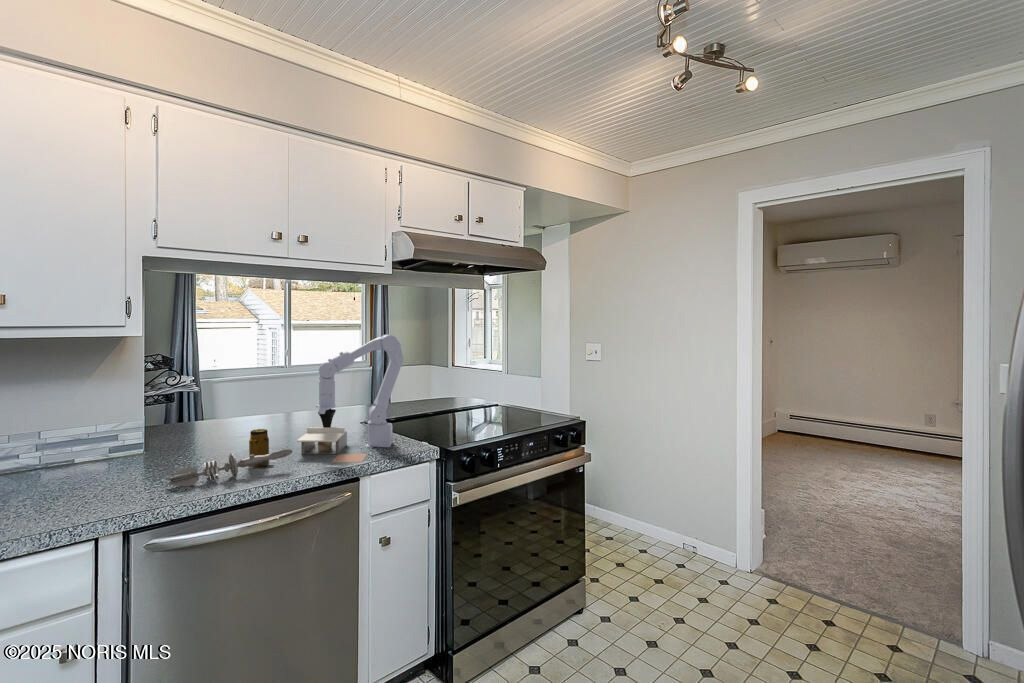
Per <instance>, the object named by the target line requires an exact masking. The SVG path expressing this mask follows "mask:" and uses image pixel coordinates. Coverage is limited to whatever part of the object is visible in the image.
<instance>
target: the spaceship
mask: <svg viewBox="0 0 1024 683" xmlns="http://www.w3.org/2000/svg"><path fill="white" fill-rule="evenodd" d="M292 453H293V450H292V449H288V448H287V449H280V450H276V451H273V452H271V453H269V454H267V455H257V456H254V455H250V457H246V458H244V457H243V458H242V459H240V460H239V461H237V459H236V457H235V455H234V454H233V453H232V452H231V453H229V456H228V462H225V463H224V465H223V466H219V465H218V464H217V460H212V461H208V462H204V463H203V464H204V468H203V470H202V471H198V468H196V467H193V466H187V467H185V468H183V469H181V470H179V471H177V472H175V473H173V474H172V475H171V476H168V477H167V478H166V480H167V481H168V482H167V486H175V487H177V486H178V487H186V486H187V487H190V486H191V485H193V486H194V485H195V484H196V483H197V482H199V480H200V476H204V477H205V478H206V481H207V480H208V481H207V482H211V481H216V480H220V477H219V474H220V471H225V472H226V473H228V472H229V470H230V473H231V476H232V477H233V479H237V477H238V473H239V468H242V469H243V468H246V467H248V466H250V467H254V466H255V464H259V463H261V462H263V461H267V460H269V461H271V460H279V459H282V458H283V459H284V458H286V457H288V456H289V455H291V454H292ZM191 487H192V486H191Z"/></svg>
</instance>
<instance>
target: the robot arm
mask: <svg viewBox="0 0 1024 683" xmlns="http://www.w3.org/2000/svg"><path fill="white" fill-rule="evenodd" d="M382 350H383V351H384V352H386V354H387V356H388V359H389V363H388V366H387V368H386V371H385V373H384V375H383V376H384V377H383V378H382V381H381V384H380V387H379V391H378V393H377V395H376V398H375V399H374V401H373V403H372V405H371V406H370V407H369V408H368V410H367V414H368V417H369V420H368V421H367V443H366V444H365V448H366V447H380V448H390V447H391V446H392V444H393V443H394V441H393V439H394V438H393V423H391V422H387V417H388V415H387V410H388V407H389V401H390V398H391V396H392V392H393V391H394V390H393V389H394V387H395V384H396V382H397V379H398V375H399V373H400V370H401V367H402V364H403V362H404V355H403V350H402V346H401V343H400V340H398V338H397V337H396V336H395V335H392V334H390V333H389V334H387V333H386V334H383V335H382V336H379V337H376V338H373V339H372V340H370V341H368V342H366V343H365V344H363V345H361V346H359V347H358V348H356V349H355V350H352V351H351V352H350V351H340V352H339V353H338V354H339V355H337V356H335V357H332V358H328V359H327V361H325V362H323V363H321V364H320V366H319V368H318V373H319V382H318V404H316V405H315V408H318V412H317V414H318V415H319V417H320V420H321V423H322V427H332V422H333V418H334V415H335V413H336V412H337V411H336V410H337V409H334V408H336V407H337V405H336V382H335V375H336V373H340V372H341V371H343V370H346V369H347V368H349V367H351V366H352V365H354V362H355V360H358V359H359V358H361V357H363V356H365V355H367V354H369V353H370V352H373V351H382Z"/></svg>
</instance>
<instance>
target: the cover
mask: <svg viewBox="0 0 1024 683" xmlns="http://www.w3.org/2000/svg"><path fill="white" fill-rule="evenodd" d="M345 431H346V427H345V426H343V427H341V426H339V427H337V426H335V427H334V426H333V427H332V426H331V427H323V426H322V427H321V426H319V427H317V426H316V427H314V426H313V427H311V426H308V427H306V433H305V434H303V435H302V436H301V437H299V438H298V439H297V440H296V442H297V443H301V442H315V443H316V442H317V443H318V442H332V443H336V441H337V440H338V439H339V438H340V437H341V436H342V435H343V434H344V433H345Z"/></svg>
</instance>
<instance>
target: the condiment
mask: <svg viewBox="0 0 1024 683" xmlns="http://www.w3.org/2000/svg"><path fill="white" fill-rule="evenodd" d="M268 431H269V430H268V429H265V428H258V429H252V430H251V431H250V433H249V437H250V438H249V441H248V444H249V446H248V447H249V449H248V452H249V453H248V455H249V457H250V455H254V456H257V455H267V454H270V438H269V434H268V433H269V432H268ZM249 457H248V458H249ZM269 463H270V460H267V461H263V462H261V463H259V464H255V466H254V467H250V466H247V467H245V469H259V468H260V469H261V468H273V467H275V464H269Z"/></svg>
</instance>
